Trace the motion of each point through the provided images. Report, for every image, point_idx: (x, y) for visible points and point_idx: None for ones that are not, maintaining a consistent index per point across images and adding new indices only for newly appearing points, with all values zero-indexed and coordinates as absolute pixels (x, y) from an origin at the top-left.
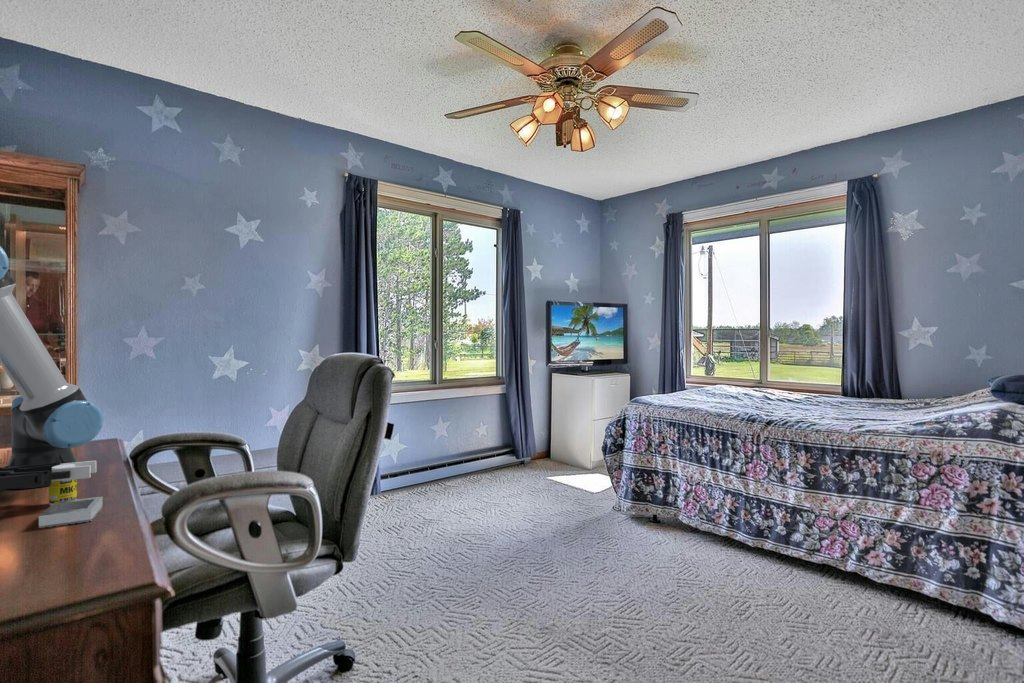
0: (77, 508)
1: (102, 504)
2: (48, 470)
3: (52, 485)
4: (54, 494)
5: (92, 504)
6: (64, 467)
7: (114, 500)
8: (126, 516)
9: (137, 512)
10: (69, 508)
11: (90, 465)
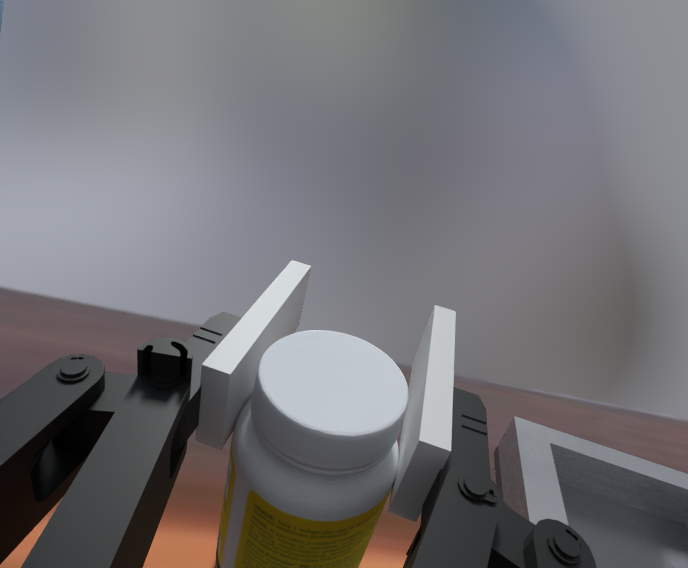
0: None
1: (501, 442)
2: (475, 476)
3: (362, 536)
4: (355, 566)
5: (649, 469)
6: (405, 383)
7: None
8: (647, 432)
9: (605, 403)
10: None
11: (437, 306)
